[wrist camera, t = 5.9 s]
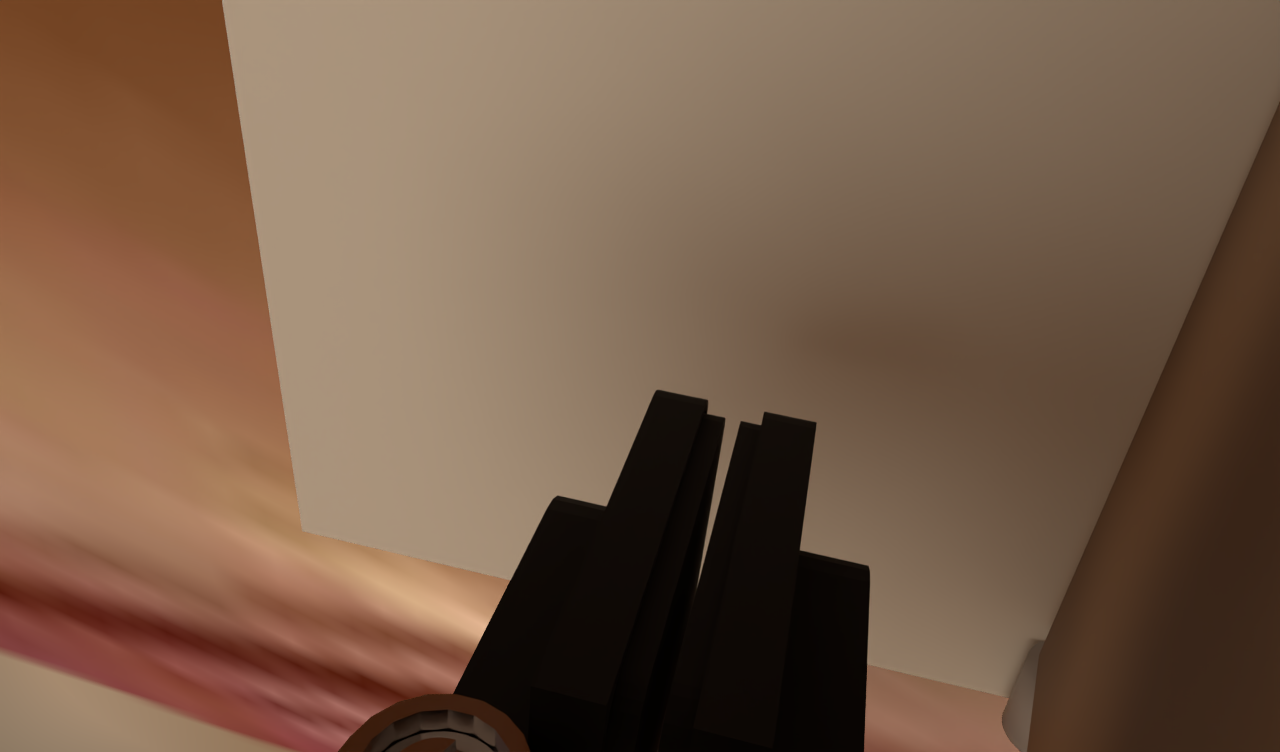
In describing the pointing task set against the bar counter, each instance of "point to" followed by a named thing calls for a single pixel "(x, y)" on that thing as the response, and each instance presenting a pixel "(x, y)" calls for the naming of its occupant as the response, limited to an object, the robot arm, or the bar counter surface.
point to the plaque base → (747, 267)
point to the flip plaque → (1188, 532)
